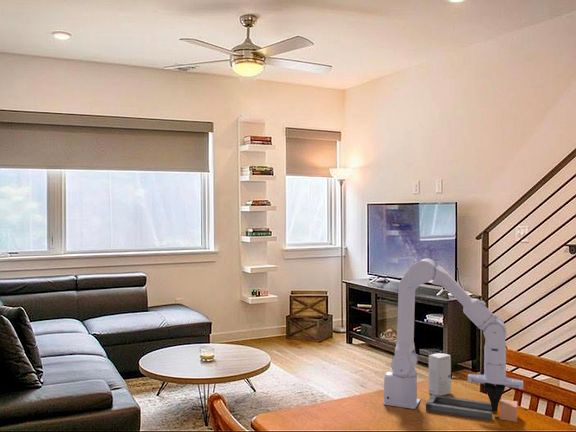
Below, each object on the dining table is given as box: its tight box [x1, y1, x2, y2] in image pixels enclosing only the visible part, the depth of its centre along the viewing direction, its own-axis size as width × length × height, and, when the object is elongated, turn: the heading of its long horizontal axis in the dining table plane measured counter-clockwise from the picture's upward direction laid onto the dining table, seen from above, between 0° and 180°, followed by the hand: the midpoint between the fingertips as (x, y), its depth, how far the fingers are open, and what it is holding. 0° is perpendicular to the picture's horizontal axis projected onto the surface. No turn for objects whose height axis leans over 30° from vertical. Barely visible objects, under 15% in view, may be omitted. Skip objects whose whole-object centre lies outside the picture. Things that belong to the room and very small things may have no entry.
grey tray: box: [425, 394, 494, 422], centre depth 158 cm, size 18×9×2 cm, turn 65°
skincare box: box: [428, 352, 452, 396], centre depth 173 cm, size 6×4×12 cm
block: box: [499, 398, 519, 423], centre depth 152 cm, size 4×5×4 cm
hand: (494, 410), depth 154 cm, fingers closed
